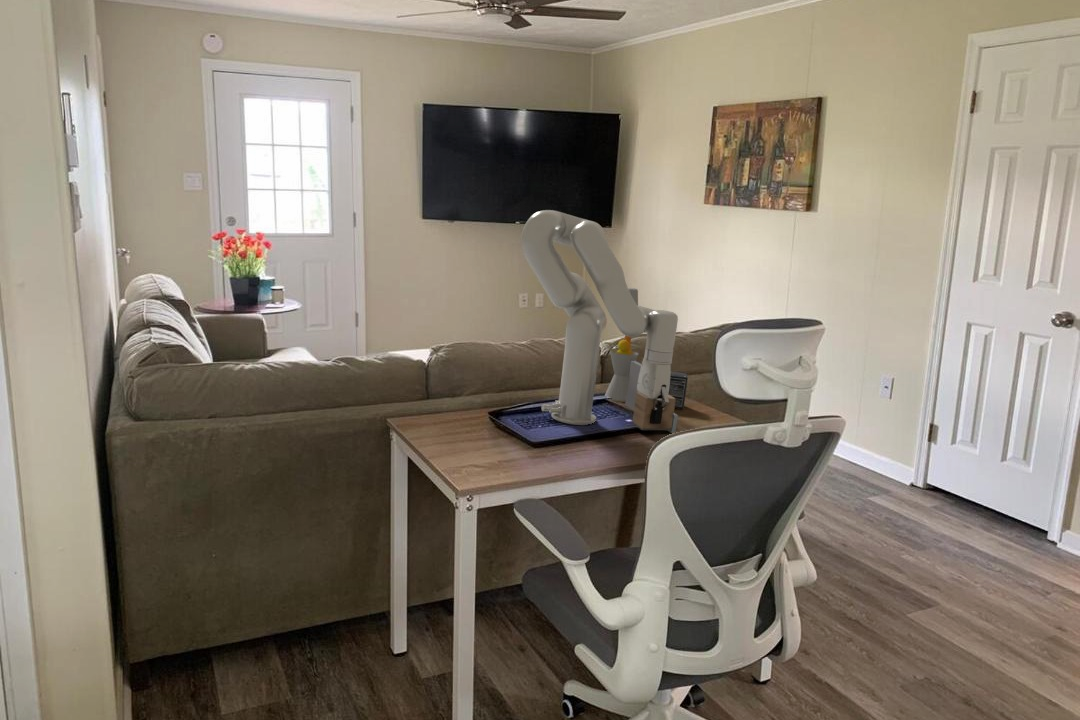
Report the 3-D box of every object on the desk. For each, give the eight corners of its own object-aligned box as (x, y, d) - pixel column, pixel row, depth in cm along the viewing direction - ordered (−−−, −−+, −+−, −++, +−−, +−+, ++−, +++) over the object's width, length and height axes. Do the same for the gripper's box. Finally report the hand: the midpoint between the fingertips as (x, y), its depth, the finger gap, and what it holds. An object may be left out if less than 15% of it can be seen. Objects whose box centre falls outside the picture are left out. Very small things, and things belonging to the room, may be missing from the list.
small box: (682, 404, 257) (687, 372, 255) (683, 410, 251) (688, 377, 249) (649, 400, 258) (653, 368, 256) (649, 405, 252) (654, 373, 250)
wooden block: (642, 430, 220) (646, 398, 218) (632, 423, 225) (636, 392, 223) (671, 429, 223) (675, 398, 221) (660, 423, 228) (665, 392, 226)
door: (671, 433, 223) (674, 415, 222) (645, 416, 237) (648, 399, 236) (678, 432, 224) (681, 415, 223) (652, 416, 238) (655, 399, 237)
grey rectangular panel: (640, 415, 239) (647, 362, 236) (624, 405, 249) (631, 354, 245) (646, 415, 240) (653, 363, 237) (630, 405, 249) (637, 354, 246)
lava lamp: (609, 392, 263) (623, 285, 255) (635, 397, 259) (651, 289, 252) (600, 397, 255) (614, 287, 247) (627, 403, 251) (642, 291, 244)
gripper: (631, 348, 226) (623, 410, 230) (661, 363, 210) (652, 429, 214) (655, 349, 229) (646, 410, 232) (686, 364, 213) (676, 429, 217)
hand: (649, 419), depth 223 cm, fingers closed on wooden block, 6 cm apart
